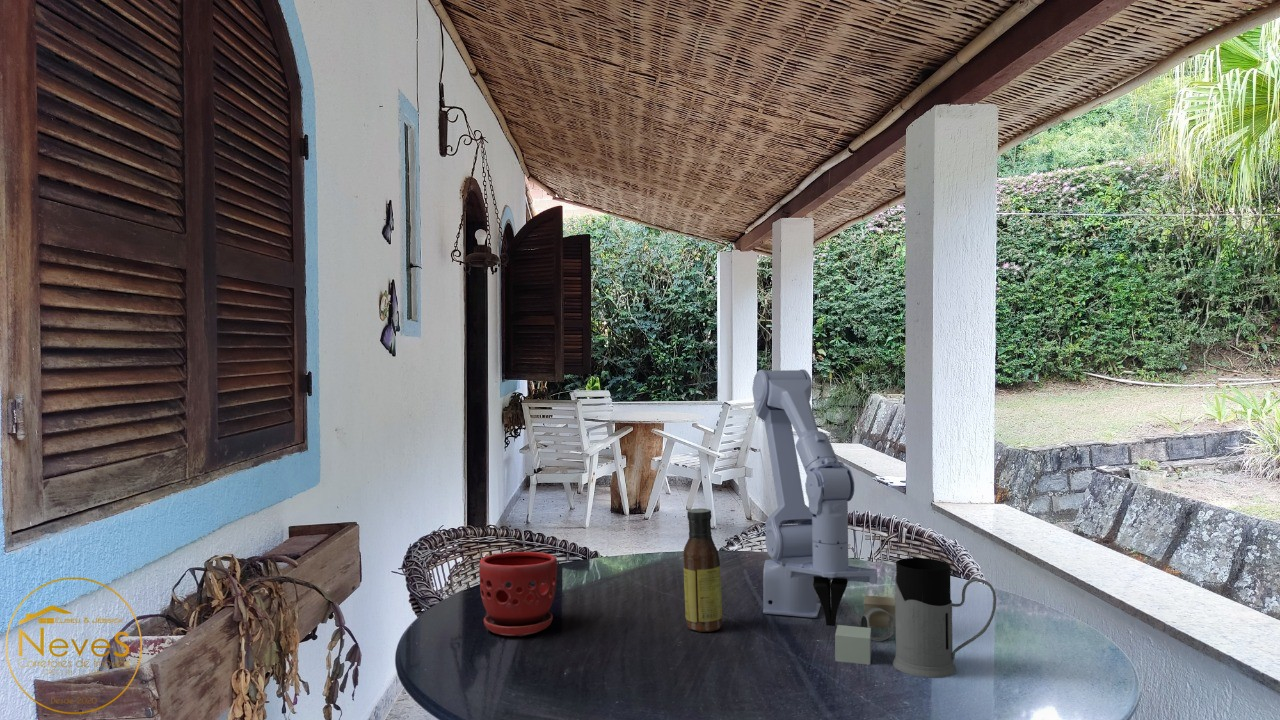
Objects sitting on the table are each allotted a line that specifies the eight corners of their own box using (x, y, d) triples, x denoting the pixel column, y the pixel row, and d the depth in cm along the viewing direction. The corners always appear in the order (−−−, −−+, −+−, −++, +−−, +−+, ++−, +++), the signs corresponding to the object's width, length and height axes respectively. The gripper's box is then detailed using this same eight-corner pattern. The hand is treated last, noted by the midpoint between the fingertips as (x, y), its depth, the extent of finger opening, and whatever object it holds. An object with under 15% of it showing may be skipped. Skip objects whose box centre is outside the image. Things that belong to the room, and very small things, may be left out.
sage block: (835, 662, 120) (835, 635, 120) (837, 650, 124) (837, 624, 124) (870, 665, 118) (869, 638, 118) (871, 654, 123) (871, 627, 123)
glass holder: (900, 652, 123) (899, 554, 123) (1000, 669, 116) (999, 565, 116) (886, 670, 116) (885, 566, 116) (993, 689, 109) (991, 578, 109)
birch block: (864, 627, 136) (864, 603, 136) (865, 618, 140) (864, 595, 141) (895, 629, 134) (895, 605, 134) (894, 620, 139) (894, 597, 139)
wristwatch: (860, 638, 130) (860, 607, 130) (889, 636, 131) (889, 605, 131) (867, 644, 127) (867, 612, 127) (897, 642, 128) (897, 610, 128)
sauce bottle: (727, 624, 137) (726, 508, 137) (715, 635, 131) (714, 514, 132) (691, 619, 140) (690, 505, 140) (678, 630, 134) (677, 511, 134)
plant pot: (570, 631, 134) (570, 559, 134) (495, 646, 127) (495, 570, 127) (538, 611, 145) (538, 545, 145) (468, 624, 138) (468, 554, 139)
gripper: (782, 543, 130) (783, 627, 129) (875, 548, 125) (876, 635, 125) (787, 534, 136) (788, 614, 136) (876, 539, 132) (877, 622, 132)
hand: (831, 624), depth 131 cm, fingers closed
